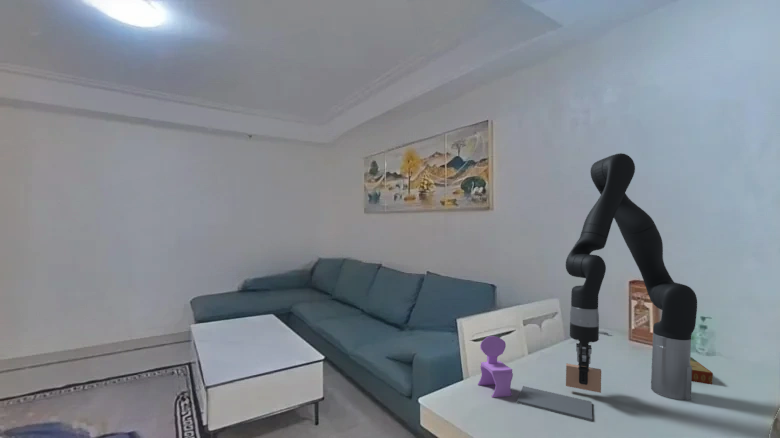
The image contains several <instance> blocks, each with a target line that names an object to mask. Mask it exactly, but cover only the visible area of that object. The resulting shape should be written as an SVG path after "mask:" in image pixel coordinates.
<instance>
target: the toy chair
mask: <svg viewBox="0 0 780 438" xmlns="http://www.w3.org/2000/svg"><path fill="white" fill-rule="evenodd" d="M479 346H480V348H479V349H480V350H481V352H482V353H483V354H484V355H485V356H486V361H481V362H480V371H481V376H480V379H479V381H478V383H477V386H487V385H488V386H489V385H495V387H494V390H493V393H492V394H491V398H500V397H511V396H512V388H511V385H512V380H513V377H514V373H513V369H512V368H511V367H509V366H508V365H507V364H505V363H503V362H502V361H501V360H498V357H499V356H501V355H503V354H504V352H505V350H506V346H507V345H506V341H505V340H504V339H502V338H500V337H499V336H493V335H489V336H486V337H485V338H484V339H483V340H482V341H481V342H480V345H479Z"/></svg>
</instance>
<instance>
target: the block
mask: <svg viewBox="0 0 780 438" xmlns="http://www.w3.org/2000/svg"><path fill="white" fill-rule="evenodd" d="M565 364H566V366H565V367H566V368H565V372H566V373H565V387H569V388H572V389H580V390H585V391H589V392H595V393H599V394H600V393H602V369H601V368H595V367H589V372H588V384H587V385H584V384H580V383H579V369H578V367H579V365H578V364H572V363H565ZM583 367H585V366H583Z"/></svg>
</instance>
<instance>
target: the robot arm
mask: <svg viewBox="0 0 780 438" xmlns="http://www.w3.org/2000/svg"><path fill="white" fill-rule="evenodd" d="M635 172H636V166H635V161H634V160H633V158H632V157H631V156H630V155H628V154H626V153H622V152H621V153H616V154H612V155H609V156H607V157H604V158H602V159H599V160H597V161H596V162H594V163H592V165H591V167H590V178H591V181H592V182H593V184H594V186H595V188H596V189H597V191H598V192H599V194H600V196H599V197H598V199H597V200H596V202H595V204H594V205H593V206H592V208H591V209H590V210H589V212H588V214H587V216H586V217H585V220H584V222H583V226H582V230H581V231H580V232H581V233H580V234H579V235H580V236H579V238H578V239H577V241H576V242H575V244H574V246H573V247H572V249H571V250H570V252H569V253H568V255H567V257H566V260H565V269H566V272H567V273H568V274H569V275H570V276H571V277H574V278H582V279H585V281H584V283H583V284H582V285H575V286H573V287H572V288H571V295H570V296H571V297H570V300H571V301H570V311H569V337H570V338H571V339H573V340H575V341H578V342H576V346H575V347H576V361H577V363H578V364H577V365H579V367H578V369H579V383H580V384H584V385H587V384H588V372H589V366H590V364H591V355H592V351H593V349H592V344H590V343H596V342H598V341H599V338H600V337H599V336H600V335H599V334H600V315H599V314H600V313H599V293H600V290H601V287H602V283H603V281H604V277H605V274H606V271H607V268H606V267H607V266H606V261H605V260H604V258H603V257H602V256H600V255H597V254H592V253H593V252H594V251H598V250H599V251H600V250H602V249H604V248H605V246H606V244H607V240H608V237H609V234H610V231H611V227H612V224H613V221H614V220H615V223H616V225H617V227H618V229H619V231H620V233H621V236H622V238H623V240H624V242H625V244H626V247H627V249H628V250H629V252H630V254H631V255H632V258H633V260H634V262H635V264H636V266H637V268H638V270H639V272H640V275H641V278H642V280H643V283H644V286H645V289H646V291H647V294H648V297H649V299H650V301H651V303H652V304H653V305H654V306H655V307H656V308H658V309H660V310H661V316H660V317H661V318H660V321H658V322H655V323H654V324H653V326H652V327H653V328H652V329H653V331H652V332H653V333H652V353H651V355H652V356H651V357H652V358H651V375H650V376H651V379H650V389H651V391H653V392H654V393H656V394H657V395H660V396H663V397H666V398H669V399H673V400H684V401H685V400H688V401H692V384H693V383H692V382H693V381H692V367H691V365H690V357H691V355H692V354H691V352H692V351H691V348H692V347H691V346H692V335H693V333H694V331H695V329H696V321H697V315H698V314H697V313H698V312H697V311H698V299H697V298H698V297H697V294H696V293H695V291H694V290H693V288H691V286H689V285H686V284H683V283H680V282H679V283H678V282H675V281H674V280H673V279H672V277H671V275H670V273H669V271H668V269H667V268H666V265H665V262H664V246H663V245H664V244H663V239H662V236H661V234H660V231H659V229H658V227H657V225H656V224H655V221H654V219H653V218H652V217H651V215H650V214H649V213H648V212H646V211H645V210H644V209H643V208H641V207H640V206H639V205H637V204H636V203H635V202H634V201H632V199H630V197H628V195H627V194H626V191H627V189H628V188H629V186H630V184H631V182H632V180H633V179H634V178H633V177H634V176H635ZM583 366H585V367H583Z"/></svg>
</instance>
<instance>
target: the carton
mask: <svg viewBox="0 0 780 438" xmlns="http://www.w3.org/2000/svg"><path fill="white" fill-rule="evenodd" d="M690 365H691V367H692V382H693V383H698V384H699V383H700V384H706V385H707V384H708V385H713V382H714V381H713V380H714V376H713V374H714V373H713V372H712V371H711V370H709V369H708V368H707V367H705V366H704V365H702V364H701V363H700V362H698V361H697V360H696V359H694V358H693V357H692V356H690Z"/></svg>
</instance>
